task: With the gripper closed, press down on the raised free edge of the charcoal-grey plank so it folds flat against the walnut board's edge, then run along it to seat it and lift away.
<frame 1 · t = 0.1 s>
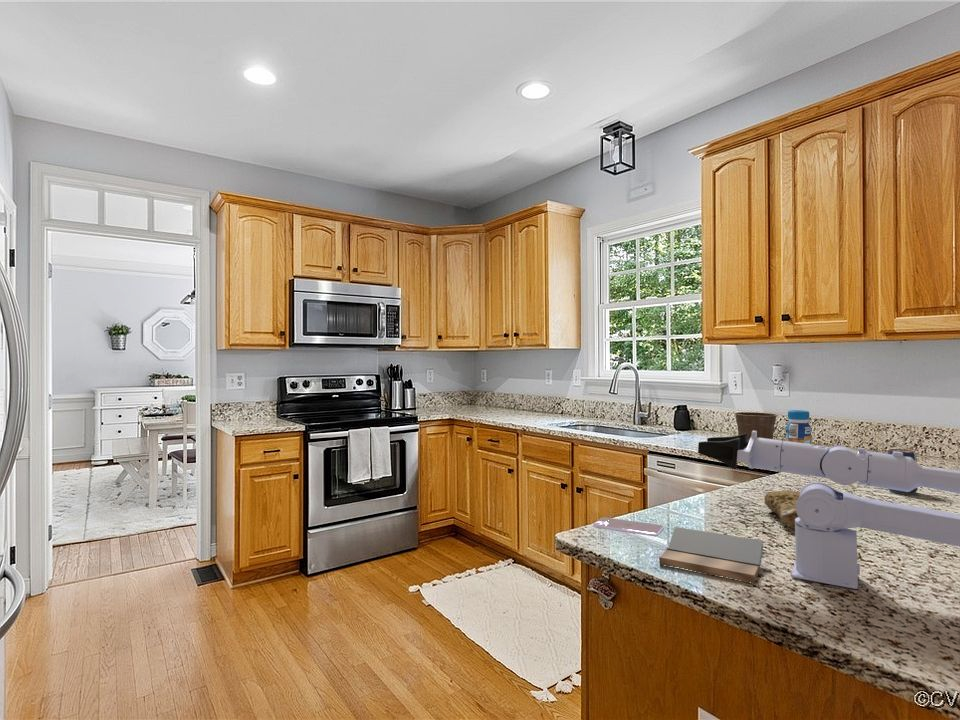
hand: (703, 445, 106), 22 cm above the counter, tool horizontal, fingers open, 7 cm apart
grey plank: (714, 547, 104), point 2 cm above the counter, hinge at 28.0°
soda can: (902, 492, 155), on the counter
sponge: (795, 522, 128), on the counter
mobile phone: (627, 529, 125), on the counter
walnut board: (708, 569, 98), on the counter
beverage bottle: (799, 466, 196), on the counter
plant pot: (756, 452, 228), on the counter
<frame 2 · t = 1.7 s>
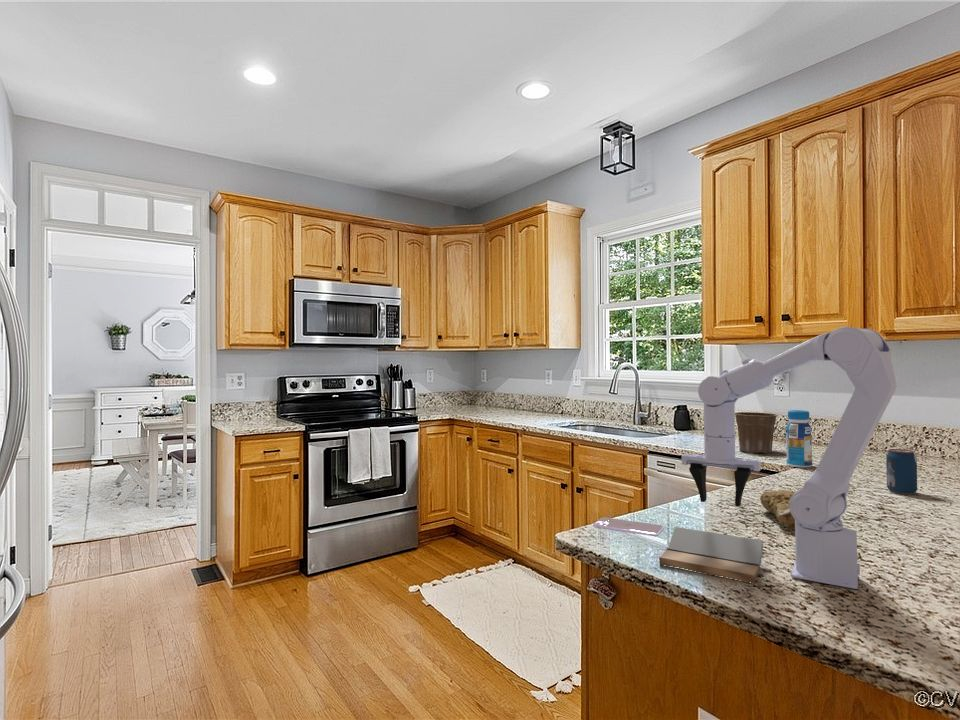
hand: (720, 503, 109), 9 cm above the counter, tool pointing down, fingers open, 6 cm apart
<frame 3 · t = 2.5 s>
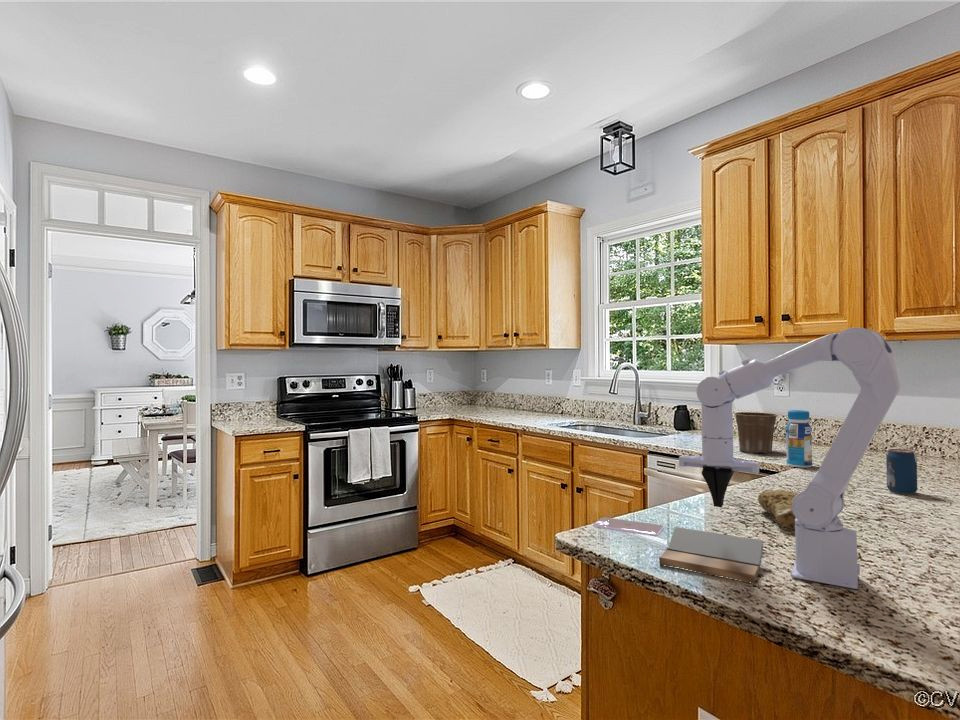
hand: (718, 505, 107), 9 cm above the counter, tool pointing down, fingers closed
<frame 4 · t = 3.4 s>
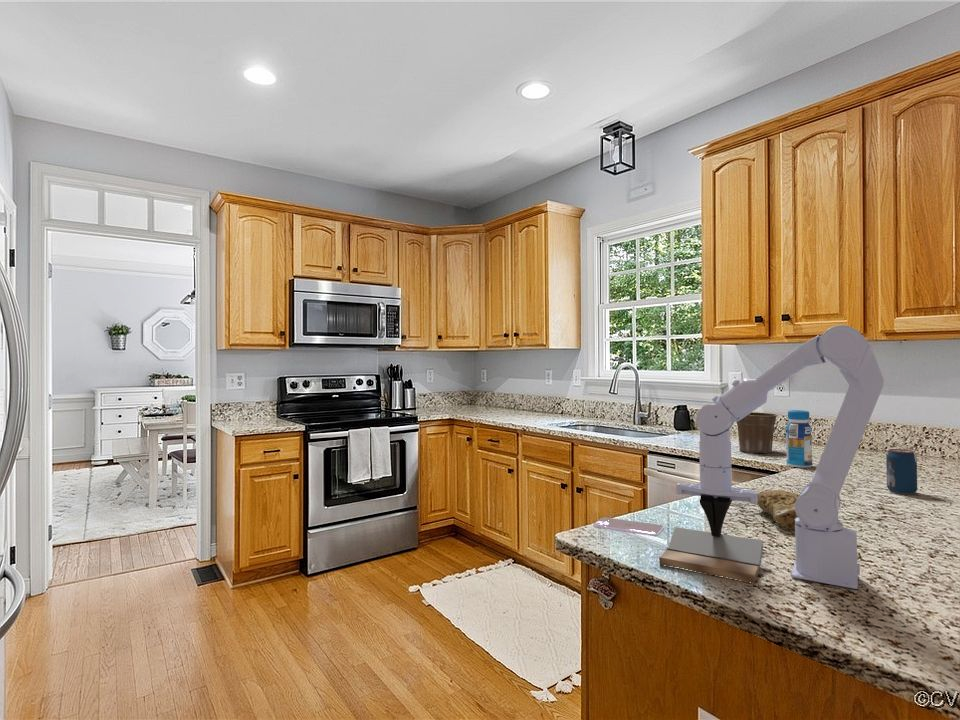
hand: (716, 535, 105), 4 cm above the counter, tool pointing down, fingers closed, pressing on grey plank
grey plank: (714, 547, 104), point 2 cm above the counter, hinge at 27.6°, touching gripper
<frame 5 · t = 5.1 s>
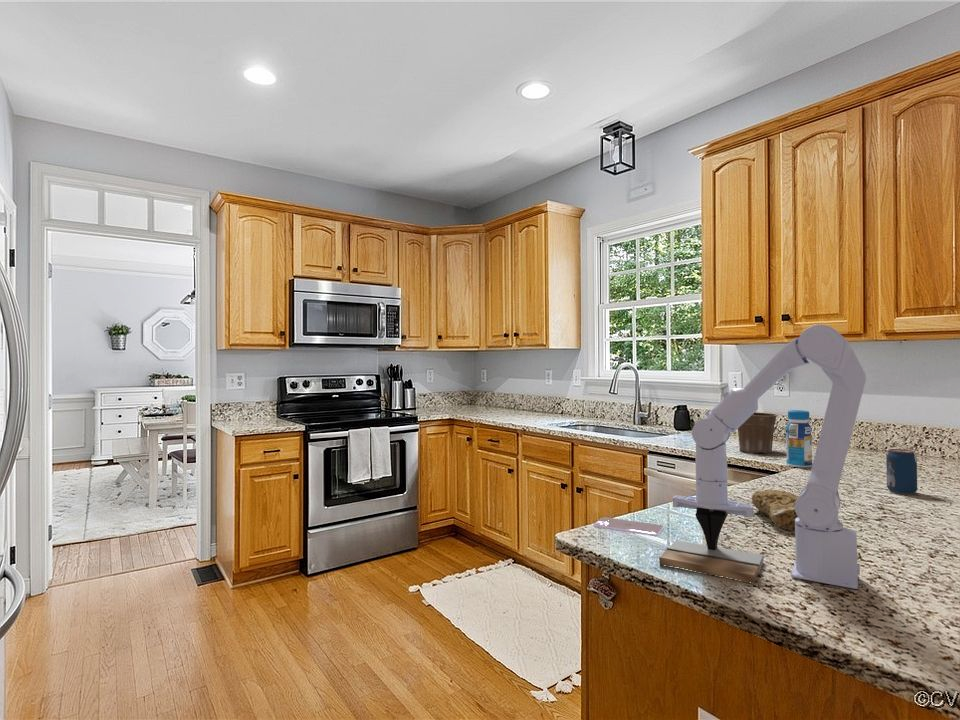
hand: (712, 548, 105), 1 cm above the counter, tool pointing down, fingers closed
grey plank: (714, 555, 104), point 1 cm above the counter, hinge at -0.9°
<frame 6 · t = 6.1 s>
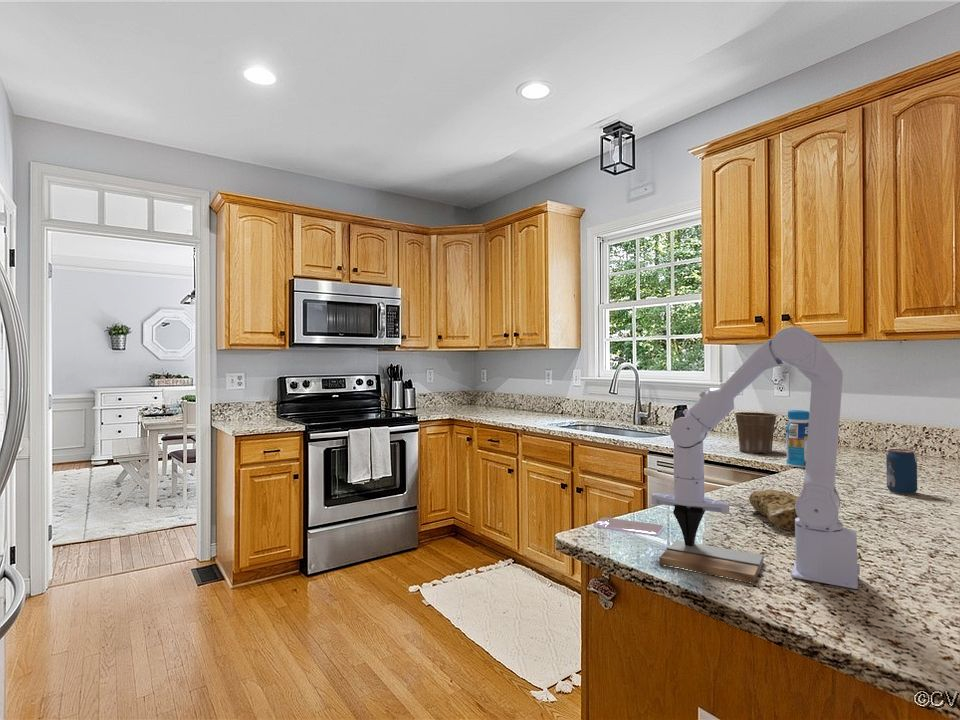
hand: (689, 544, 108), 1 cm above the counter, tool pointing down, fingers closed
grey plank: (714, 555, 104), point 1 cm above the counter, hinge at -0.9°, touching gripper
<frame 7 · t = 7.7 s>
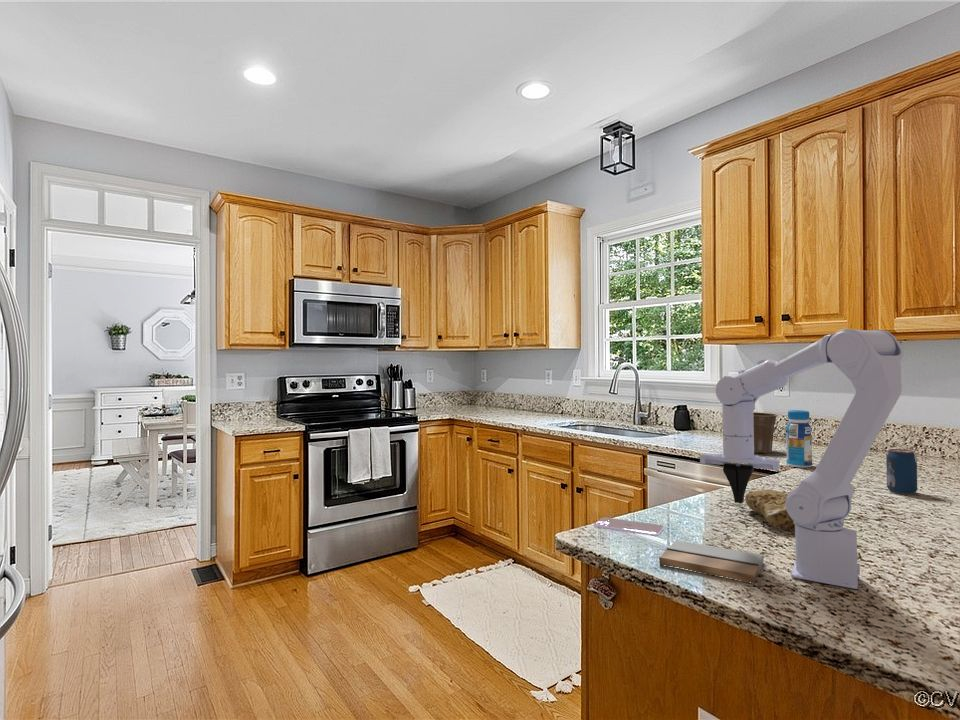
hand: (739, 501, 110), 9 cm above the counter, tool pointing down, fingers closed
grey plank: (714, 555, 104), point 1 cm above the counter, hinge at -0.9°
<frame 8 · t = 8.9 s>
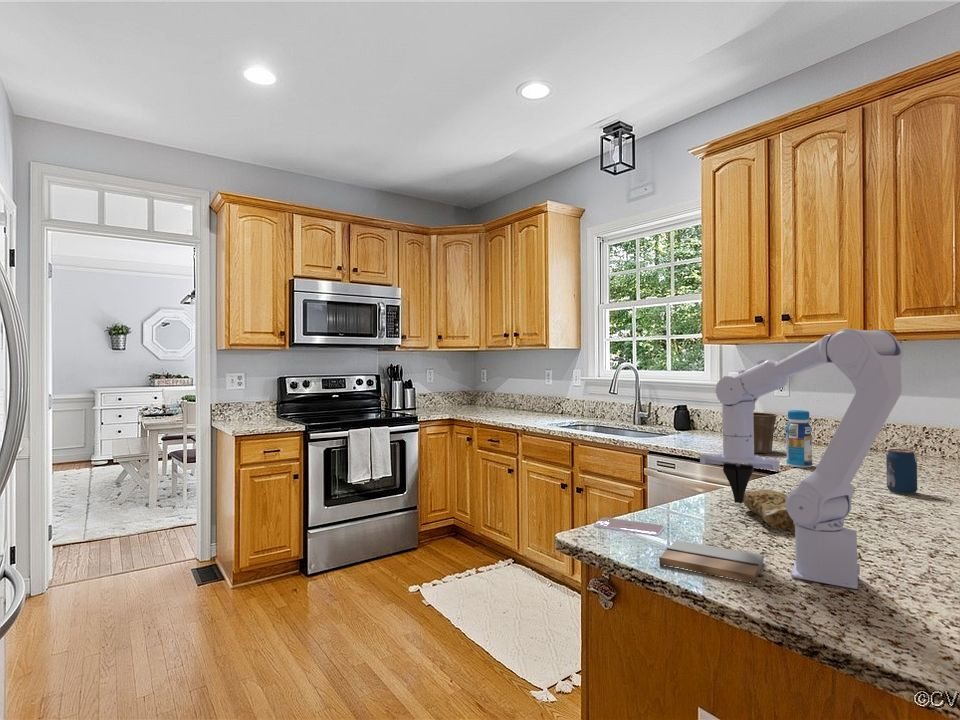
hand: (739, 501, 110), 9 cm above the counter, tool pointing down, fingers closed
at the end: grey plank at -1° (first picture: +28°) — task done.
